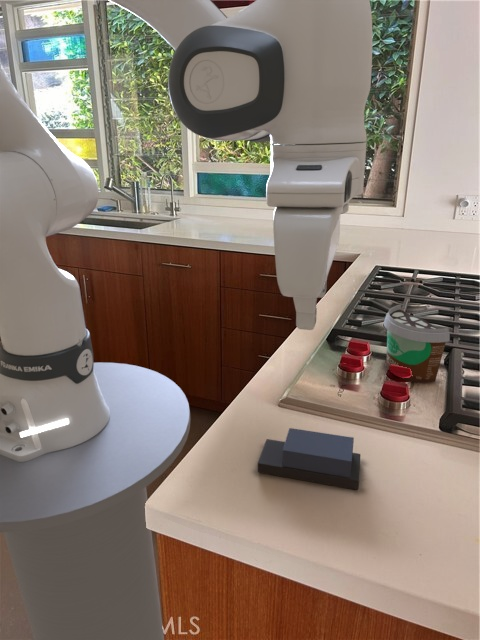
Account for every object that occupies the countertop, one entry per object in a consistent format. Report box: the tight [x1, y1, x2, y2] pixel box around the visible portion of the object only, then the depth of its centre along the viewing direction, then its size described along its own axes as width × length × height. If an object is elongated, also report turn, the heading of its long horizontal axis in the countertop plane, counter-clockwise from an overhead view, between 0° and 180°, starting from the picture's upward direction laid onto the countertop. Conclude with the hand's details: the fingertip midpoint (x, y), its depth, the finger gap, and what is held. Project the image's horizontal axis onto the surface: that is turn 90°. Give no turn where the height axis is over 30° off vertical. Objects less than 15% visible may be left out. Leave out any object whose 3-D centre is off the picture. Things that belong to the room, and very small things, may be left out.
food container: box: [383, 304, 451, 384], centre depth 77 cm, size 12×6×10 cm, turn 21°
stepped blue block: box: [257, 427, 361, 491], centre depth 57 cm, size 12×5×4 cm, turn 74°
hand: (312, 310), depth 50 cm, fingers open, 8 cm apart
